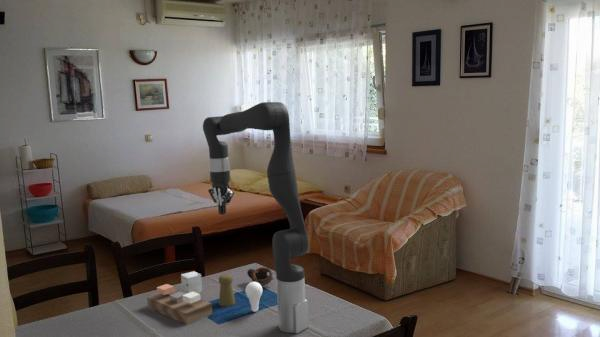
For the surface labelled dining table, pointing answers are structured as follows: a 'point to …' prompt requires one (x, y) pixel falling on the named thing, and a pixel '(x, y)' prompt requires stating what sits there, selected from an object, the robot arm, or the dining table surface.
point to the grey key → (177, 297)
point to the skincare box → (191, 282)
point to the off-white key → (191, 297)
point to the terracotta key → (165, 289)
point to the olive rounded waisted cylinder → (226, 290)
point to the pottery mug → (260, 275)
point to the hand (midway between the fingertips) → (222, 214)
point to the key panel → (179, 308)
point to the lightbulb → (254, 294)
